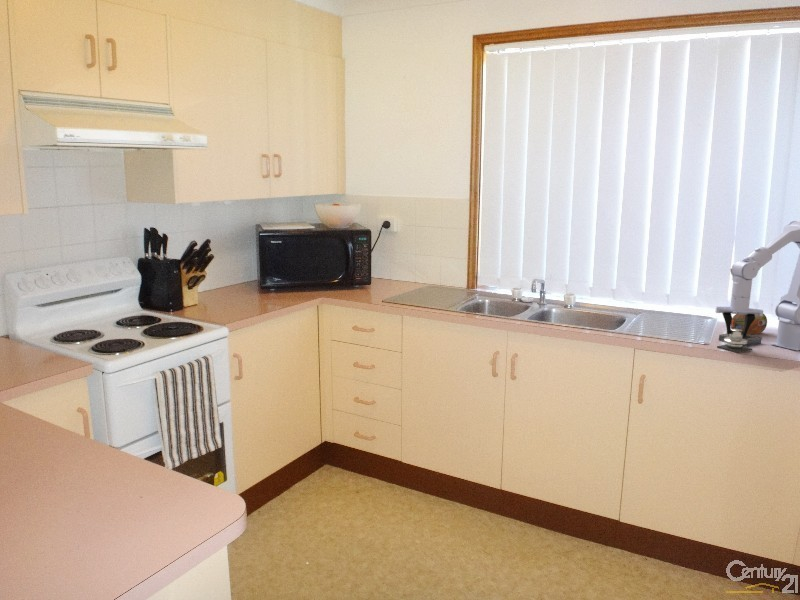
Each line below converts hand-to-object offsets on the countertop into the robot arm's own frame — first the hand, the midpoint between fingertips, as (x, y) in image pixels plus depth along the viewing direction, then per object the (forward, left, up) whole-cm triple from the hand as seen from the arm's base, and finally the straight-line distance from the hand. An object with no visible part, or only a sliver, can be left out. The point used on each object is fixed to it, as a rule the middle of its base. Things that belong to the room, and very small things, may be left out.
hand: (736, 334), depth 226 cm
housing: (+5, -11, -5) cm, 13 cm away
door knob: (0, 0, -5) cm, 5 cm away
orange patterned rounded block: (+11, -25, -6) cm, 28 cm away
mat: (0, 0, -5) cm, 5 cm away
